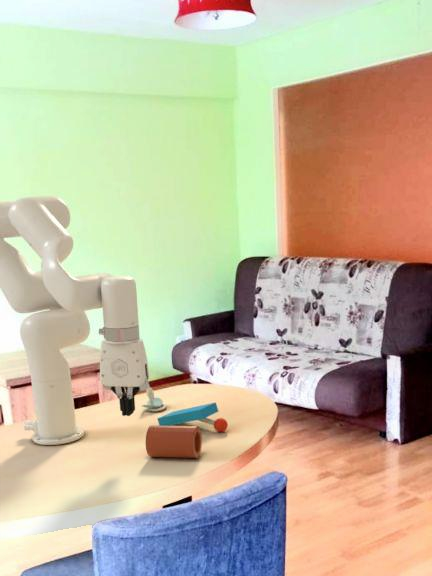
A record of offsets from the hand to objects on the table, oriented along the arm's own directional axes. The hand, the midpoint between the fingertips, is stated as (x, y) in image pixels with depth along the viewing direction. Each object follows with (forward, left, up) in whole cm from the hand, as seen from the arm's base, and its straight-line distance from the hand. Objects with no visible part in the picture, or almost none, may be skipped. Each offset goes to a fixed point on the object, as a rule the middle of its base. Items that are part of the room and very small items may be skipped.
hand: (128, 414), depth 166 cm
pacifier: (-7, +37, -10) cm, 39 cm away
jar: (+5, 0, -6) cm, 8 cm away
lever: (+9, +21, -10) cm, 25 cm away
